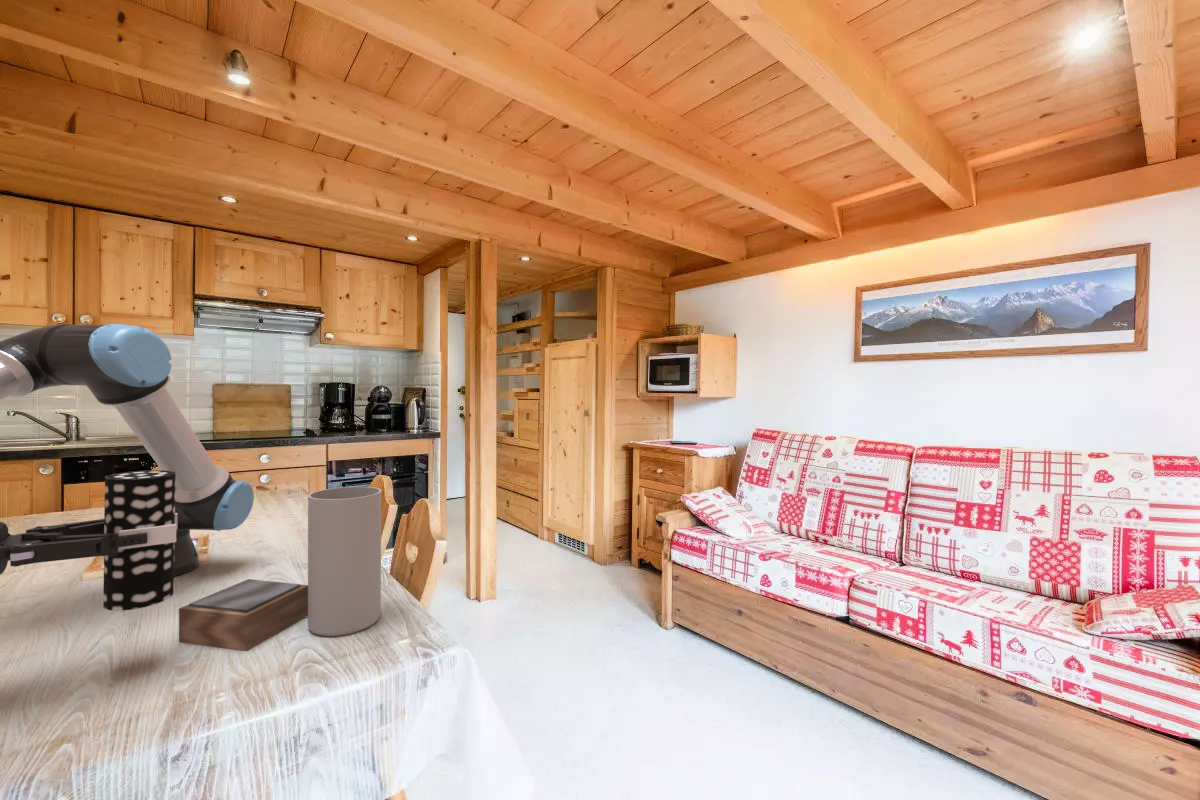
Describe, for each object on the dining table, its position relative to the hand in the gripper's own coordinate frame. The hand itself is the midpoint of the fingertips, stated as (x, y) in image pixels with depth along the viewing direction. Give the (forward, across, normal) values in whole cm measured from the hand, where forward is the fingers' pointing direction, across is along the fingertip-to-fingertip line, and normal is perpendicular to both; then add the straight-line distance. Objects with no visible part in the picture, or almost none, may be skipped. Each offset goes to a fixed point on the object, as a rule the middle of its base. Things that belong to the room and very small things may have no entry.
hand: (176, 526), depth 83 cm
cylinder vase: (+25, +3, -22) cm, 33 cm away
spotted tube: (-5, 0, -11) cm, 12 cm away
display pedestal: (+10, -6, -22) cm, 25 cm away
